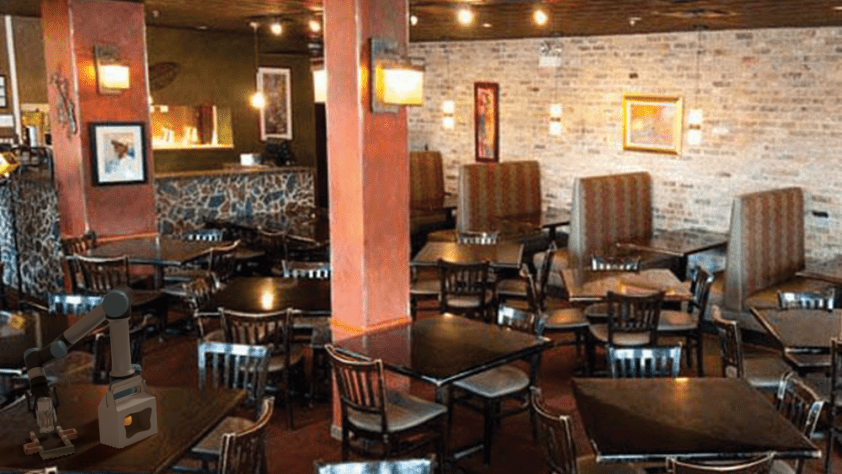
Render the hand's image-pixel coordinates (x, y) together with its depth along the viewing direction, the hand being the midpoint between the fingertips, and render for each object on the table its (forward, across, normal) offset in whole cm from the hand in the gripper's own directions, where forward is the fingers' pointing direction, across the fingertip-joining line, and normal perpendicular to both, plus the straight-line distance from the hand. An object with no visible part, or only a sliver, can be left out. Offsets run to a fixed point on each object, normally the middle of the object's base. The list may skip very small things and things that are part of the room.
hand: (47, 422), depth 382 cm
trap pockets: (+10, 0, -1) cm, 10 cm away
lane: (+11, 0, 0) cm, 11 cm away
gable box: (+20, -31, +8) cm, 37 cm away
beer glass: (+1, 0, -6) cm, 6 cm away
